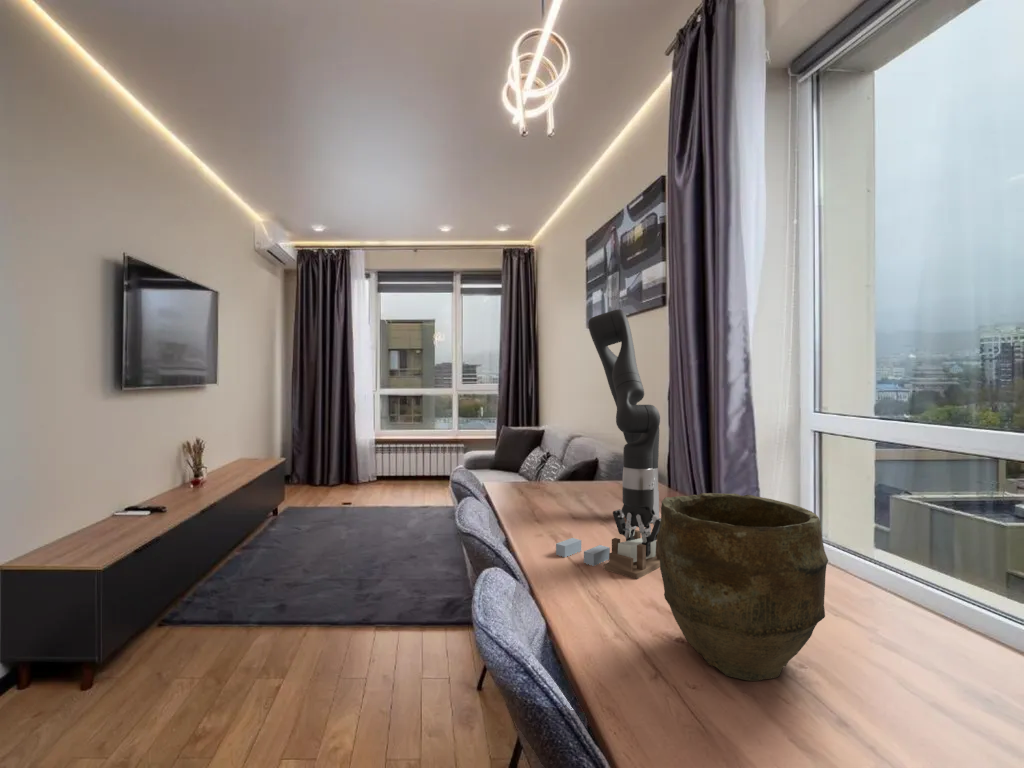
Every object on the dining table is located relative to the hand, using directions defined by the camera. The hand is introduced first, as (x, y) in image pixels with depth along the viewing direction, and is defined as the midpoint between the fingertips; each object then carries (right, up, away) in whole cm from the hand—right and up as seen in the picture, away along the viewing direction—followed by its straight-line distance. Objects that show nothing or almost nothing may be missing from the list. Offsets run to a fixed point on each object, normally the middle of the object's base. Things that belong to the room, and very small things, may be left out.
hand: (638, 554), depth 126 cm
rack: (0, -3, 0) cm, 3 cm away
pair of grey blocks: (-13, -3, +6) cm, 14 cm away
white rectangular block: (0, -1, 0) cm, 1 cm away
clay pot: (+6, -3, -43) cm, 43 cm away
